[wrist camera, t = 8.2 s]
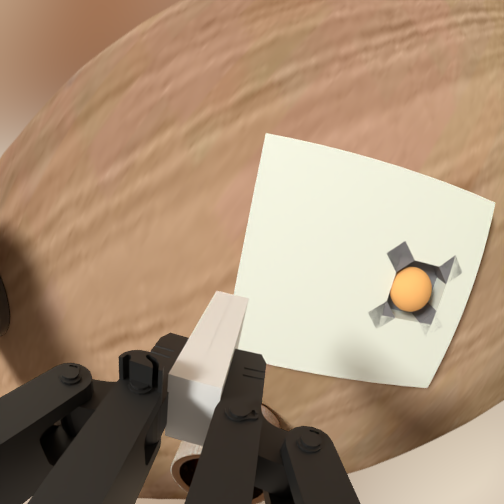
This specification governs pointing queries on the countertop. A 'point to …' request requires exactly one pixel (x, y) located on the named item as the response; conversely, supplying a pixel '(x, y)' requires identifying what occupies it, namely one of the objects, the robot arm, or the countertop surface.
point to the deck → (354, 263)
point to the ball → (411, 289)
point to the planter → (189, 457)
